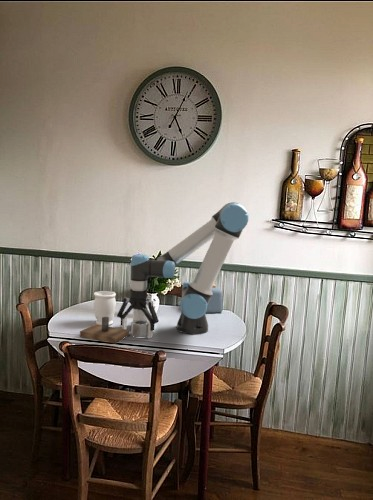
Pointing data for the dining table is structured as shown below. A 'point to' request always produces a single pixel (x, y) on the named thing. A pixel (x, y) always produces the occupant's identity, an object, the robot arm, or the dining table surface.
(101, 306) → the jar
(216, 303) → the toaster
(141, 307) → the robot arm
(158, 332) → the dining table surface
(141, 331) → the hub
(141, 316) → the cup
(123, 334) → the post block
